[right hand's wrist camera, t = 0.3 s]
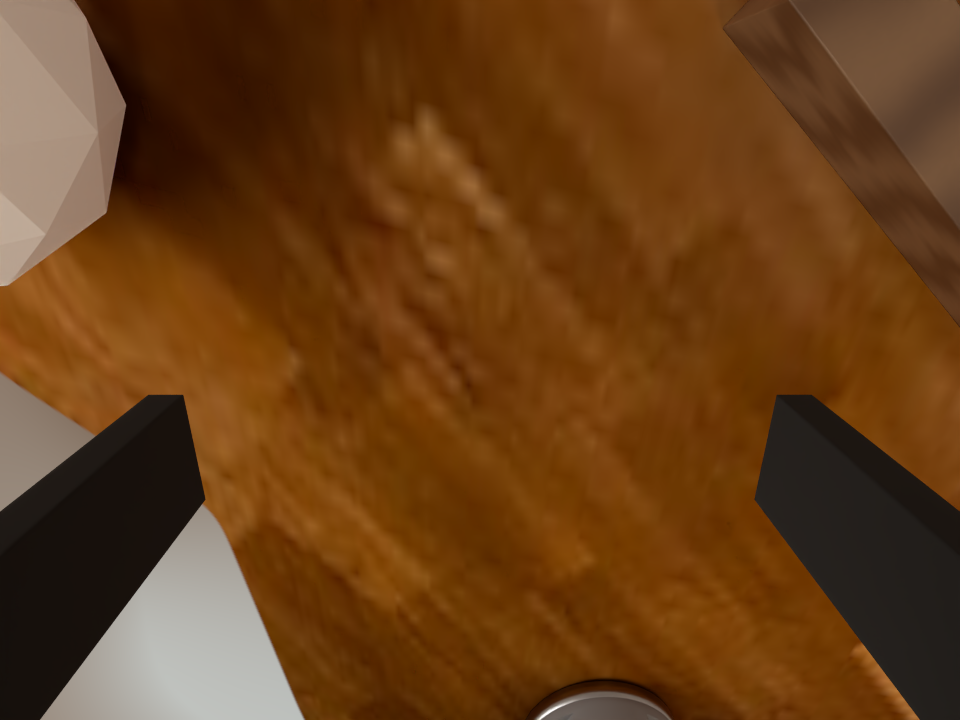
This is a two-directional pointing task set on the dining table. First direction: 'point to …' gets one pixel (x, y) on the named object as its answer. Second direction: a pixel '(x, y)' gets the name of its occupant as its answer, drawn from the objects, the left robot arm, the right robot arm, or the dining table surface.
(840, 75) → the beam
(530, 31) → the dining table surface
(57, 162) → the sphere
